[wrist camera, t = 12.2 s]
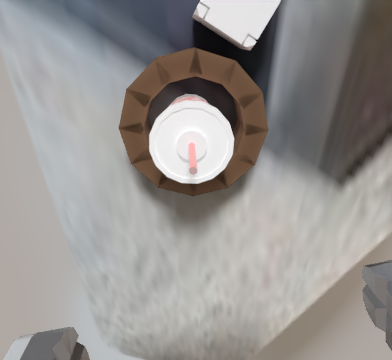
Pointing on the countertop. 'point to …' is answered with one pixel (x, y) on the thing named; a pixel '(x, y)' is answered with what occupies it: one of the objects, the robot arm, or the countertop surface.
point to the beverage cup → (191, 140)
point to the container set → (236, 19)
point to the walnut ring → (210, 70)
